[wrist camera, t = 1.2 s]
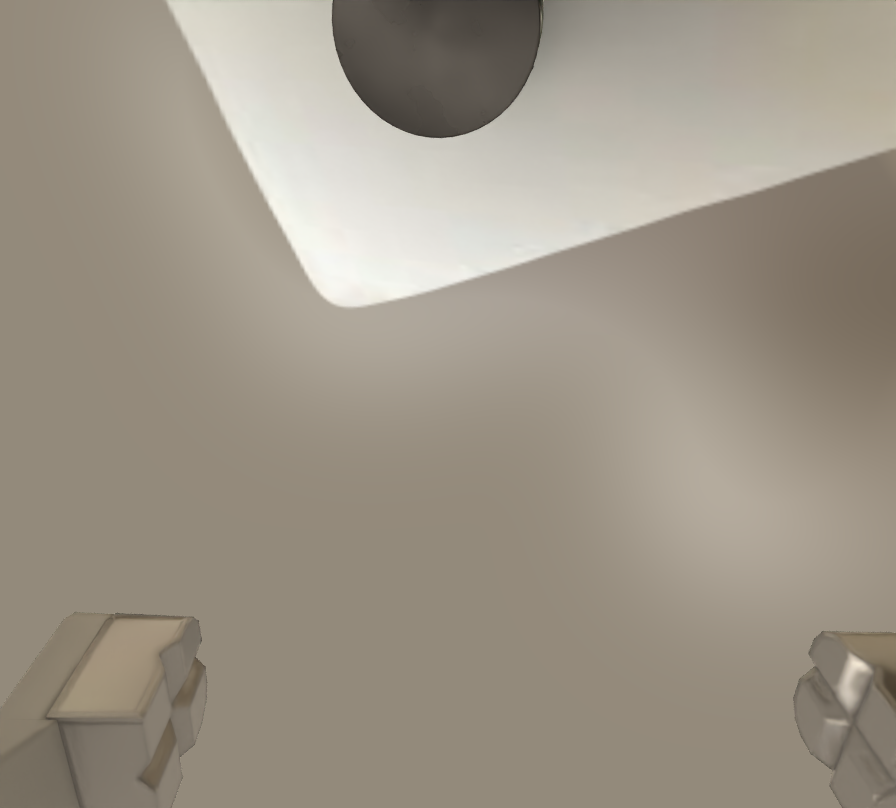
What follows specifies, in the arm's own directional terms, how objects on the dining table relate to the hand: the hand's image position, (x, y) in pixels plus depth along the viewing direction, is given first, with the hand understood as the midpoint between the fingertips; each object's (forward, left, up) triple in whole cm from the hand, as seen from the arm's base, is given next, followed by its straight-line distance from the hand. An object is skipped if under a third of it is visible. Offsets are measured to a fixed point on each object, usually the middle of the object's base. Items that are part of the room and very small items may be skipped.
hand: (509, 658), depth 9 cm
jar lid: (-5, -1, -25) cm, 25 cm away
